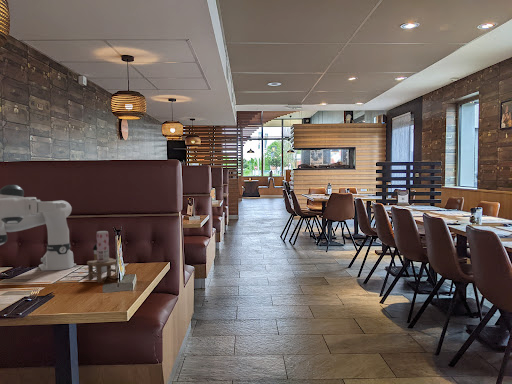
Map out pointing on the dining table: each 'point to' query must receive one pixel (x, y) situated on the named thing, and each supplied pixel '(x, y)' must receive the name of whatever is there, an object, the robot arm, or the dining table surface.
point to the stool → (99, 265)
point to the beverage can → (102, 246)
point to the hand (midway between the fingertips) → (64, 205)
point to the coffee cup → (103, 269)
